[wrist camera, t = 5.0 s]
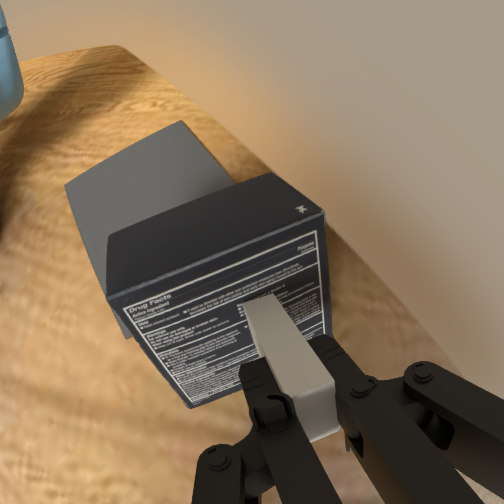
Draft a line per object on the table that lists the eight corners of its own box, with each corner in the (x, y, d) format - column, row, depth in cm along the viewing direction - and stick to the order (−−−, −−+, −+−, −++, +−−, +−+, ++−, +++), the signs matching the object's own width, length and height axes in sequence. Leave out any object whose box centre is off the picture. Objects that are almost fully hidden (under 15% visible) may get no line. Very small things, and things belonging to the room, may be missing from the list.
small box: (293, 289, 25) (273, 165, 19) (337, 347, 20) (334, 210, 14) (168, 341, 23) (104, 229, 17) (188, 413, 18) (102, 302, 12)
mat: (65, 186, 30) (64, 185, 30) (180, 122, 34) (180, 120, 34) (126, 339, 23) (125, 338, 23) (283, 242, 27) (283, 240, 27)
